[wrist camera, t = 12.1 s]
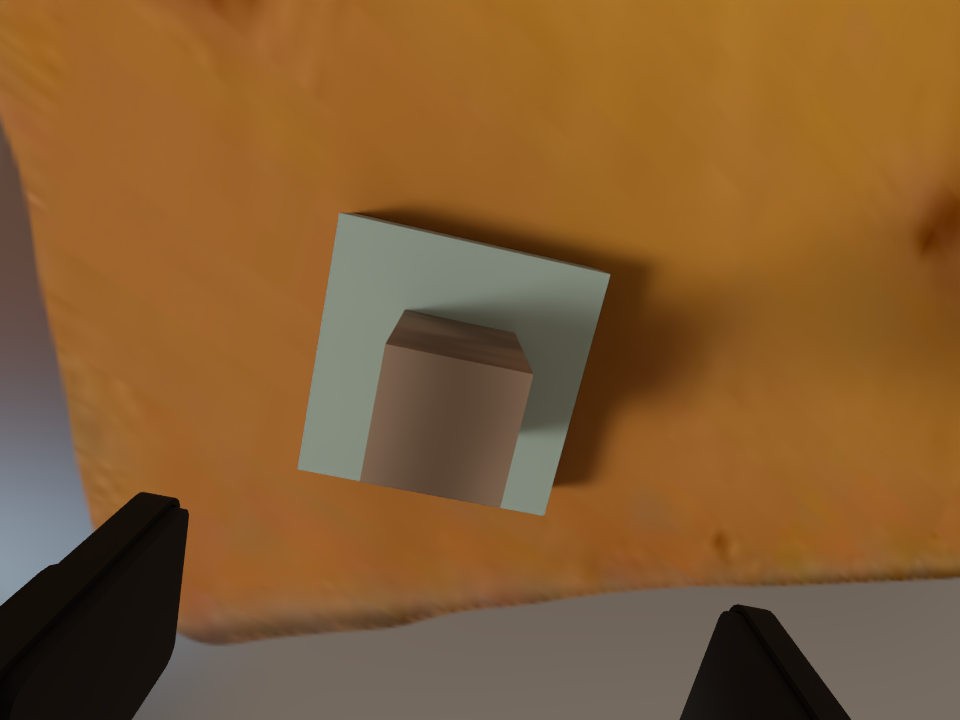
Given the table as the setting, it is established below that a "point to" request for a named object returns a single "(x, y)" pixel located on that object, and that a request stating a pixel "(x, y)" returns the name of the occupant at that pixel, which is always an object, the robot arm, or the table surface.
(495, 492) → the walnut block
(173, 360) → the table surface
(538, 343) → the plate
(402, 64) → the table surface
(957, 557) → the table surface
